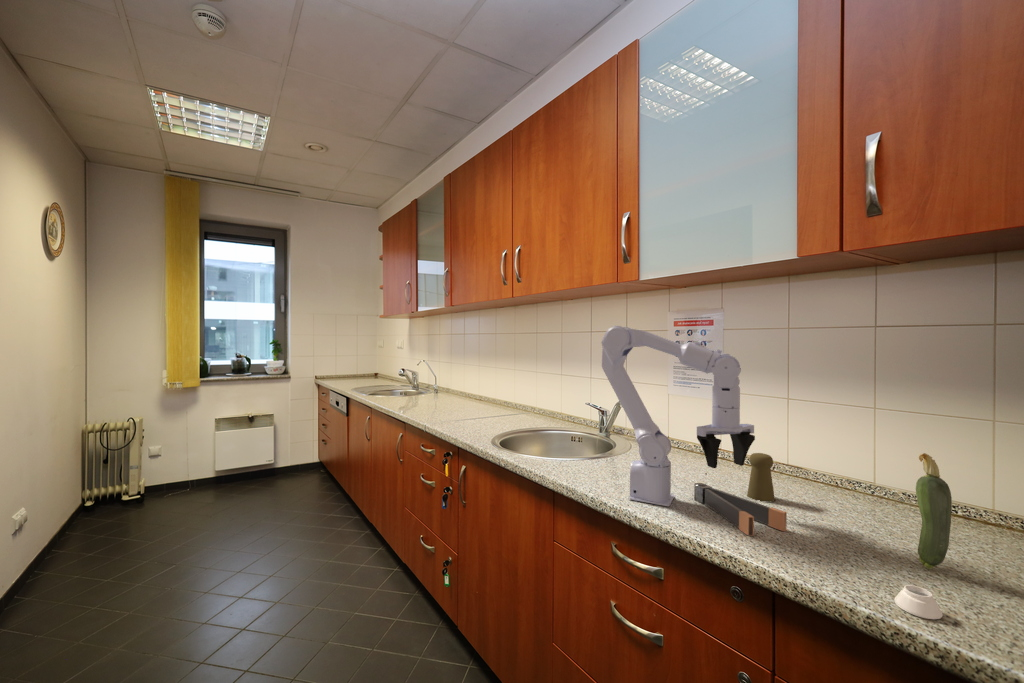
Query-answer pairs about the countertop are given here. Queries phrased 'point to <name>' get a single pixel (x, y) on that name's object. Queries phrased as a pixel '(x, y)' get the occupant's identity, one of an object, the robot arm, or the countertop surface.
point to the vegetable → (933, 514)
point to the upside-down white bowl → (918, 602)
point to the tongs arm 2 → (757, 510)
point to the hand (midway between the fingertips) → (725, 465)
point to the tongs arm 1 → (730, 512)
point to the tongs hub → (700, 492)
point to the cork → (761, 477)
